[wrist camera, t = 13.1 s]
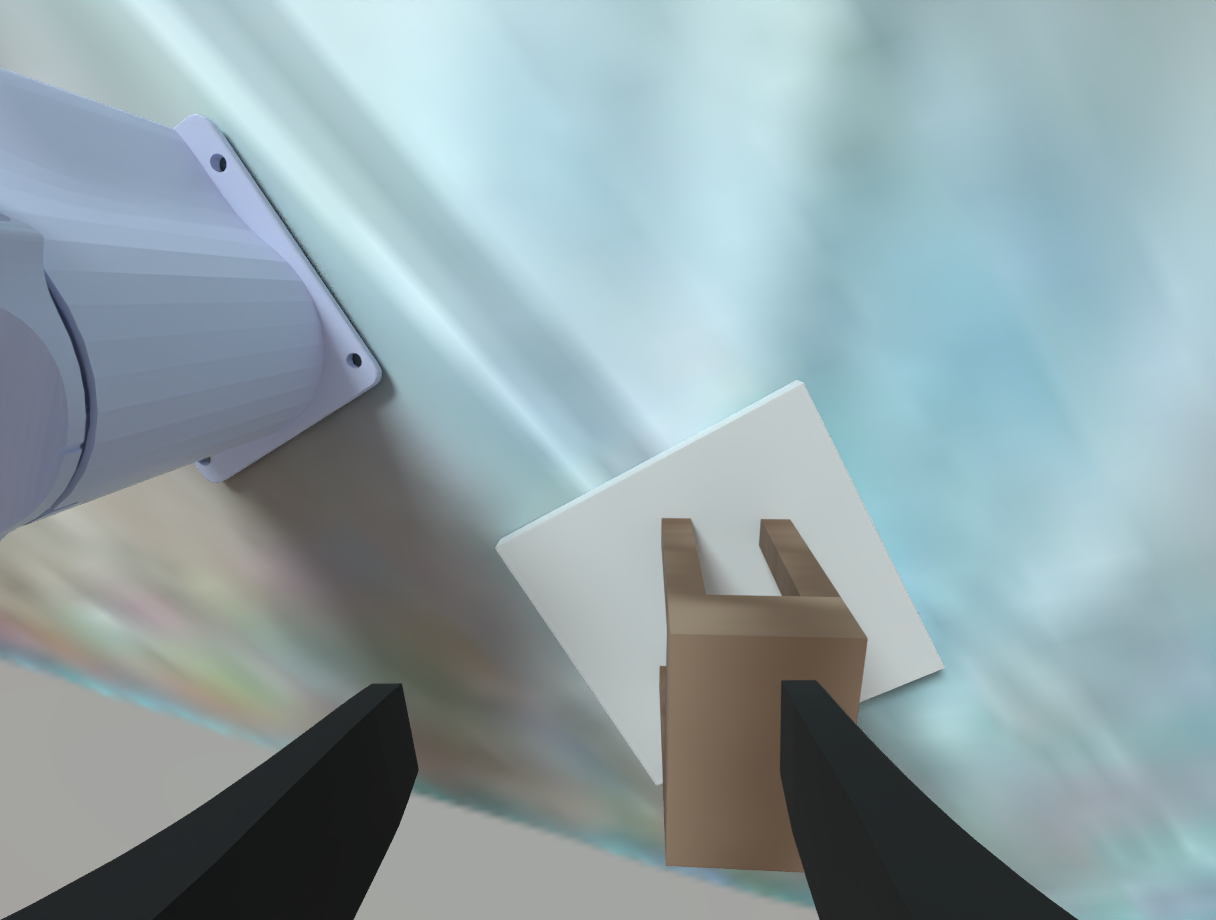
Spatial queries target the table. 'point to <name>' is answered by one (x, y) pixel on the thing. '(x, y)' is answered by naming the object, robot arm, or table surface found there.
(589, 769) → the table surface
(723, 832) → the brown forked block
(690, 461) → the mat
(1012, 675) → the table surface
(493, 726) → the table surface
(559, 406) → the table surface
